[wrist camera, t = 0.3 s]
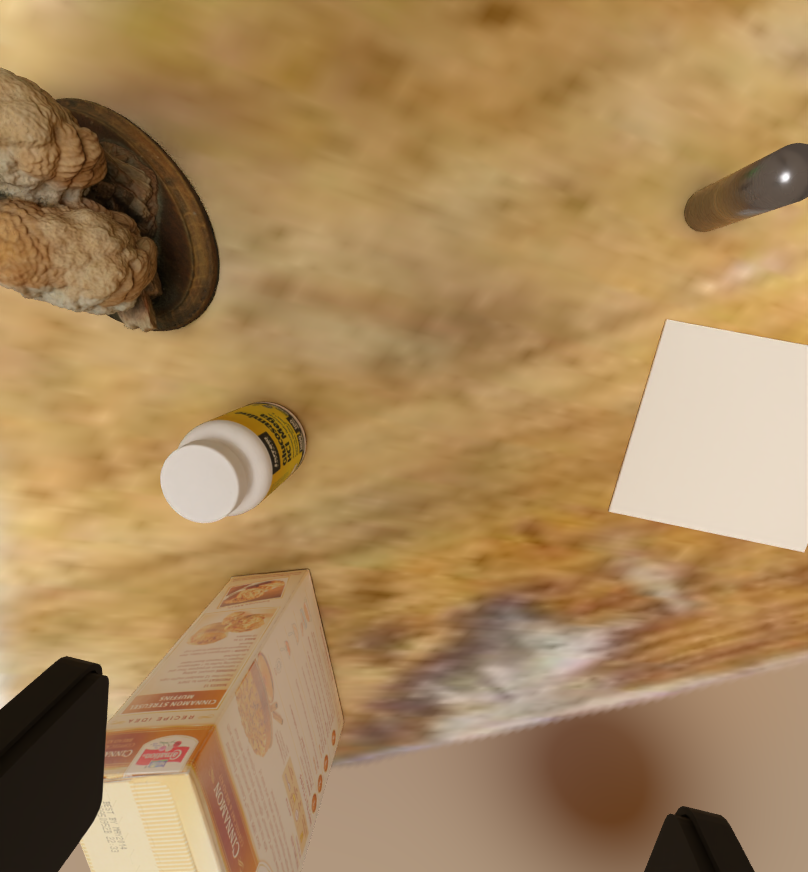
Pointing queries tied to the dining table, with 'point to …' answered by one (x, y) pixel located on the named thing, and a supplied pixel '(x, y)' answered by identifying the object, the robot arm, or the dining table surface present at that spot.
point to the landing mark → (721, 437)
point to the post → (751, 190)
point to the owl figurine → (98, 214)
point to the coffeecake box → (224, 741)
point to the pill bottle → (233, 462)
